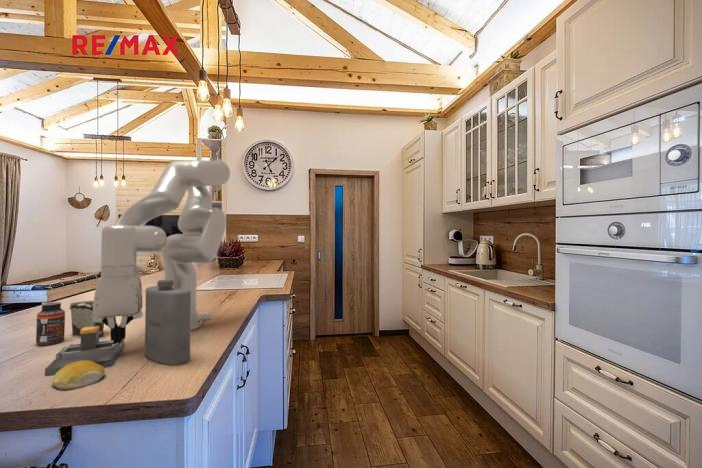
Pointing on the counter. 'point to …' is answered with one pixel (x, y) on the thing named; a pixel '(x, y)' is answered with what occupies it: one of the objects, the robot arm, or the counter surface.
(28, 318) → the counter surface
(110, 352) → the panel
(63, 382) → the bread roll
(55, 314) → the supplement bottle
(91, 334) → the lever
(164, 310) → the flask
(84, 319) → the food container
